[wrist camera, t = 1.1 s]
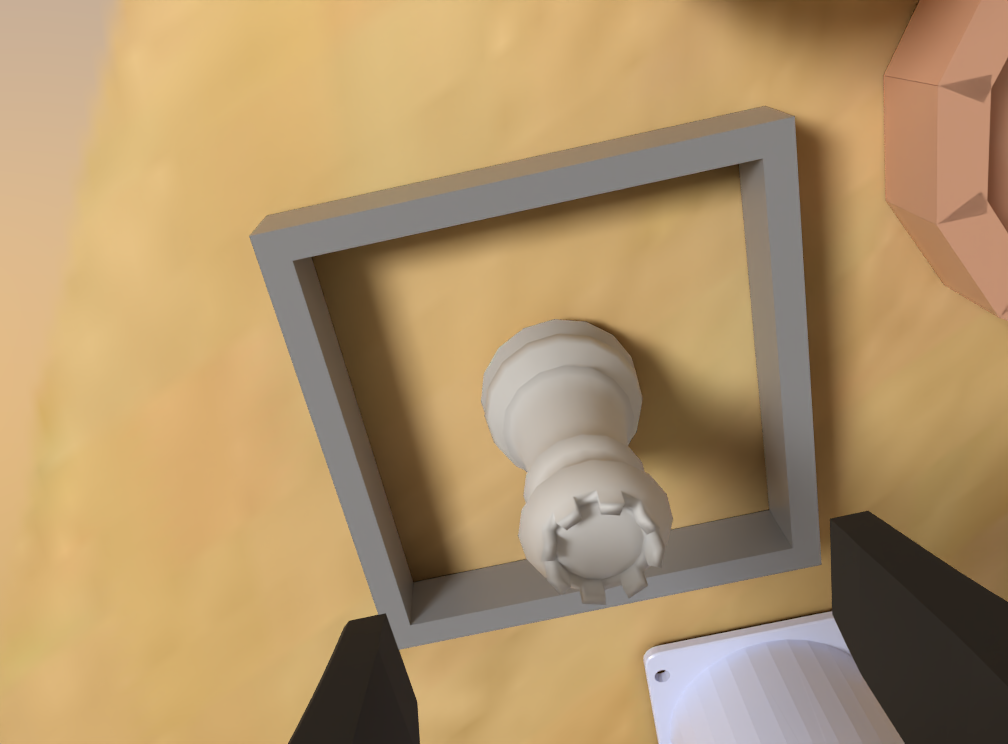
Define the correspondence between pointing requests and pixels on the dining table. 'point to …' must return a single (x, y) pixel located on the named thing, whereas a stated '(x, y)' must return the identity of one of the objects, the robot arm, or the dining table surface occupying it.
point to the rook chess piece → (577, 457)
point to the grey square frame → (526, 185)
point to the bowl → (953, 143)
